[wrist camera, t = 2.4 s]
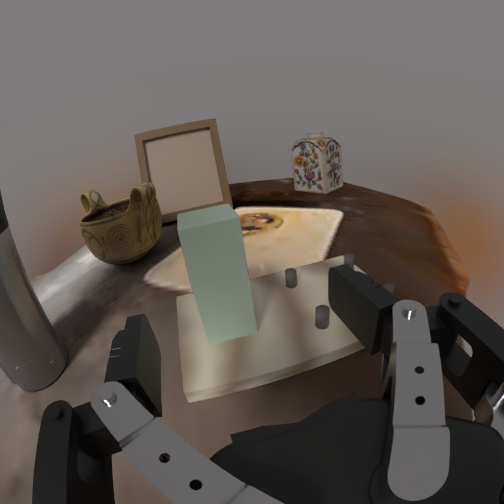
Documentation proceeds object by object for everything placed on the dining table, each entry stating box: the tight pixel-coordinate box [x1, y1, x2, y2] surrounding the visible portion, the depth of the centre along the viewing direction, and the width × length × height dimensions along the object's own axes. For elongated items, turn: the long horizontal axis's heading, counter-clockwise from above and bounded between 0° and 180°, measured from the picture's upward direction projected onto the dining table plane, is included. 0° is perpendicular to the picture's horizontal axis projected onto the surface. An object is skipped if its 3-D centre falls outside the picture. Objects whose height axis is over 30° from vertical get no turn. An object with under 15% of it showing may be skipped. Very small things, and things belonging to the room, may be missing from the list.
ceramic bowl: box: [79, 182, 162, 265], centre depth 50 cm, size 22×17×15 cm
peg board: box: [177, 253, 395, 403], centre depth 30 cm, size 24×16×4 cm, turn 105°
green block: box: [177, 203, 258, 345], centre depth 26 cm, size 5×5×12 cm
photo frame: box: [135, 119, 233, 223], centre depth 71 cm, size 15×22×25 cm
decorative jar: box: [291, 132, 343, 194], centre depth 80 cm, size 12×12×18 cm
